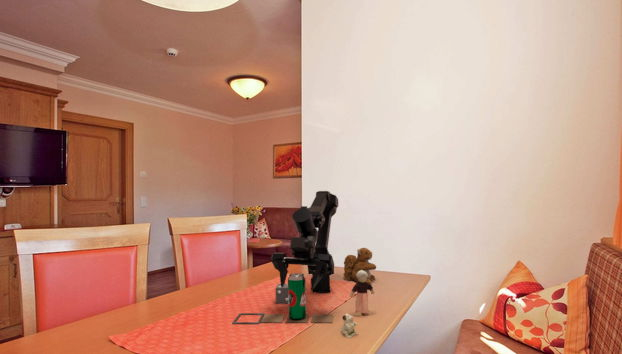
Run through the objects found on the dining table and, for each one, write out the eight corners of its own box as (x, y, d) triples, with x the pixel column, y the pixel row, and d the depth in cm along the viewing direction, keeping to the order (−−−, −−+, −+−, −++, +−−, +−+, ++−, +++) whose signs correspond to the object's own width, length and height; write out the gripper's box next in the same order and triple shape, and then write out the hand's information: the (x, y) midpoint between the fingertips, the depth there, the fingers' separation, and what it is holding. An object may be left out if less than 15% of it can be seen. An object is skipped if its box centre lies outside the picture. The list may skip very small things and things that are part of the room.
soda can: (304, 320, 93) (303, 277, 93) (287, 320, 93) (285, 276, 94) (307, 314, 98) (306, 272, 98) (290, 314, 98) (289, 272, 99)
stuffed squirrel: (371, 285, 129) (370, 250, 129) (338, 281, 135) (337, 248, 136) (379, 279, 137) (378, 246, 138) (347, 275, 144) (346, 245, 145)
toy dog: (350, 339, 81) (349, 318, 82) (337, 332, 85) (336, 312, 86) (360, 335, 83) (360, 314, 84) (347, 329, 87) (347, 309, 88)
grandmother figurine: (356, 318, 94) (355, 273, 95) (348, 314, 98) (347, 270, 99) (378, 313, 98) (376, 269, 99) (370, 309, 101) (368, 267, 102)
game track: (332, 314, 98) (332, 313, 98) (332, 324, 91) (332, 323, 91) (239, 314, 100) (239, 313, 100) (232, 324, 92) (232, 323, 92)
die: (292, 298, 114) (292, 283, 114) (290, 303, 109) (290, 287, 109) (278, 298, 114) (277, 283, 114) (275, 303, 109) (275, 287, 109)
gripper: (272, 226, 104) (258, 270, 93) (331, 226, 99) (323, 273, 88) (281, 247, 111) (269, 291, 100) (337, 249, 106) (330, 294, 95)
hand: (296, 287), depth 96 cm, fingers open, 9 cm apart
